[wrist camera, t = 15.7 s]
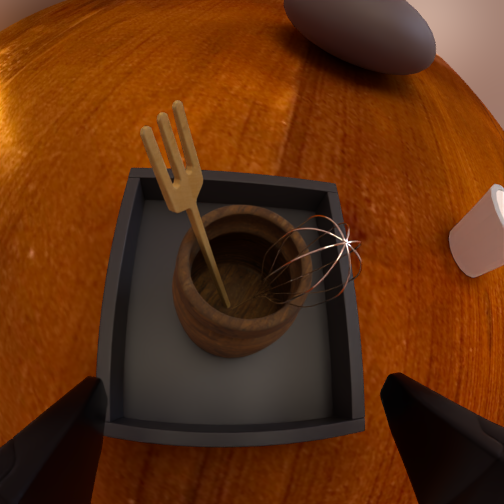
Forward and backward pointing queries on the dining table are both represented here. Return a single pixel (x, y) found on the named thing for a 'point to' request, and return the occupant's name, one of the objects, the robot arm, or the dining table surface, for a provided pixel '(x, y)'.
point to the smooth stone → (367, 32)
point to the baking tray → (220, 368)
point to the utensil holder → (232, 258)
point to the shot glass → (480, 235)
